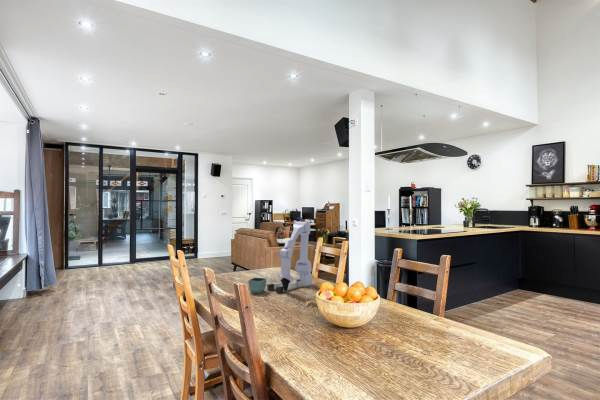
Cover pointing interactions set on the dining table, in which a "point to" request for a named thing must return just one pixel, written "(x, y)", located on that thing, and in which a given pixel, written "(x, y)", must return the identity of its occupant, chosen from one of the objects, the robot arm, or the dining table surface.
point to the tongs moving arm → (290, 286)
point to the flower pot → (257, 285)
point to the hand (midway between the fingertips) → (285, 290)
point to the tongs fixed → (273, 286)
